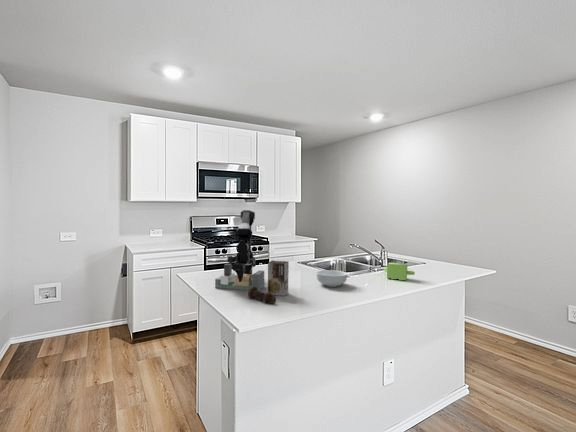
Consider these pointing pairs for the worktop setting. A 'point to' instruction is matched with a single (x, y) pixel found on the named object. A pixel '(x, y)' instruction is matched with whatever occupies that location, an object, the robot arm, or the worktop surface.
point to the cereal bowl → (331, 277)
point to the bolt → (261, 295)
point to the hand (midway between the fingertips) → (243, 279)
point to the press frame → (257, 282)
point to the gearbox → (397, 271)
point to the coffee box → (278, 278)
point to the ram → (227, 275)
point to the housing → (243, 280)
